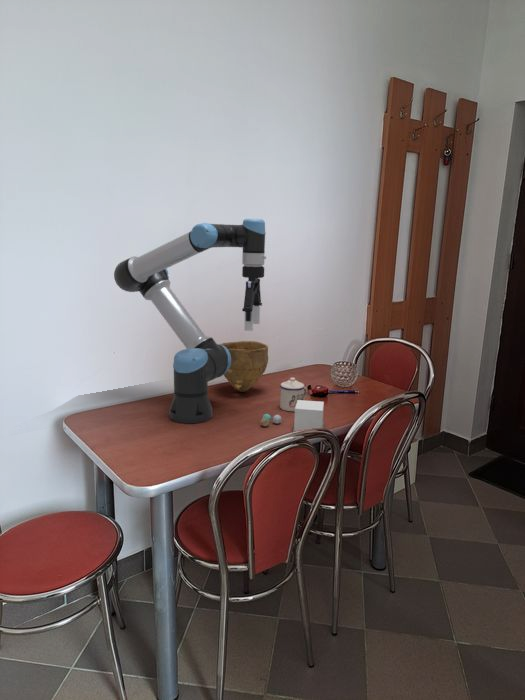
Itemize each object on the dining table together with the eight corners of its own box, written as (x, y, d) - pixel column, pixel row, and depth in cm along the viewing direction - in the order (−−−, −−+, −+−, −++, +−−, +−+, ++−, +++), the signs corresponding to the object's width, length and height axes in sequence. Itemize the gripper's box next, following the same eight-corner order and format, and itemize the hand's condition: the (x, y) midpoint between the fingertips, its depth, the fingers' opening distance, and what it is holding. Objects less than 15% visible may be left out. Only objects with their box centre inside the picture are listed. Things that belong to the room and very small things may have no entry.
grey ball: (272, 424, 173) (272, 416, 173) (273, 421, 176) (273, 413, 175) (280, 425, 173) (281, 416, 172) (281, 422, 176) (282, 413, 175)
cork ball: (259, 427, 170) (260, 419, 170) (261, 424, 173) (261, 415, 173) (268, 428, 170) (269, 419, 169) (270, 424, 173) (270, 416, 172)
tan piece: (208, 395, 203) (208, 346, 199) (230, 382, 221) (231, 337, 217) (255, 402, 195) (256, 352, 191) (274, 388, 214) (276, 342, 209)
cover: (294, 431, 166) (294, 408, 165) (296, 421, 175) (297, 399, 173) (321, 433, 165) (322, 410, 163) (322, 423, 174) (323, 401, 172)
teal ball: (261, 423, 174) (261, 415, 173) (263, 420, 177) (263, 412, 176) (270, 424, 173) (270, 416, 173) (271, 421, 176) (271, 413, 176)
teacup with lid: (290, 413, 184) (291, 382, 182) (274, 406, 191) (275, 377, 189) (314, 407, 191) (315, 377, 189) (298, 401, 198) (299, 372, 196)
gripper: (258, 268, 160) (256, 334, 164) (269, 264, 184) (268, 321, 188) (234, 267, 161) (234, 333, 165) (249, 263, 185) (248, 320, 189)
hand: (252, 327), depth 177 cm, fingers open, 13 cm apart
